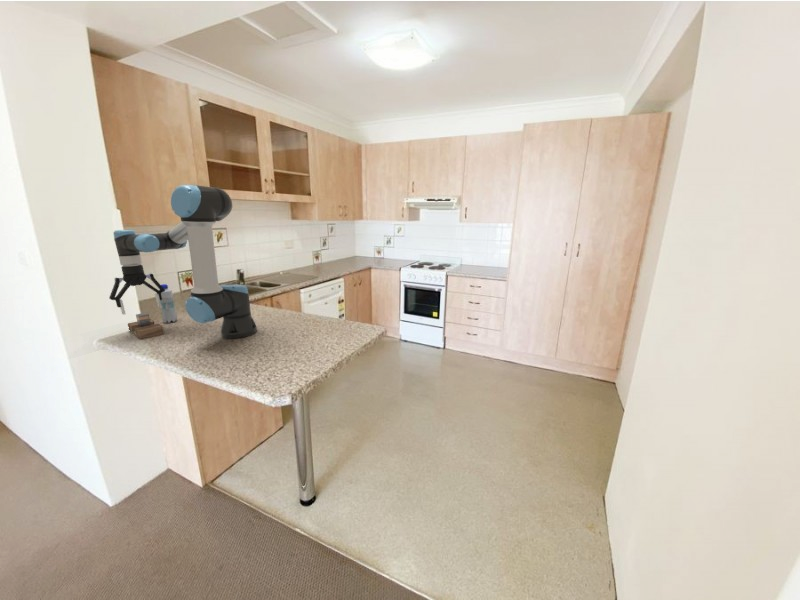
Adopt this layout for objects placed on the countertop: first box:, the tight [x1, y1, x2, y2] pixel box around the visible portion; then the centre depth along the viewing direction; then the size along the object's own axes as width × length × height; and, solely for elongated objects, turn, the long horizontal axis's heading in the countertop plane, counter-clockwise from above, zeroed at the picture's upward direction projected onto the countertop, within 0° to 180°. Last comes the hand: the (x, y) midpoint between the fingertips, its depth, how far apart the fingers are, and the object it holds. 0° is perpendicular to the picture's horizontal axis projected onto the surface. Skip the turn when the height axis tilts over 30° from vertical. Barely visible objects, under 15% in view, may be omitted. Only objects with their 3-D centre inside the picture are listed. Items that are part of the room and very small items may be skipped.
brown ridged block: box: [127, 318, 165, 340], centre depth 154 cm, size 18×9×4 cm, turn 52°
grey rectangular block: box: [135, 312, 151, 328], centre depth 153 cm, size 4×4×8 cm
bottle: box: [160, 283, 178, 324], centre depth 168 cm, size 7×7×20 cm
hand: (142, 310), depth 151 cm, fingers open, 13 cm apart
